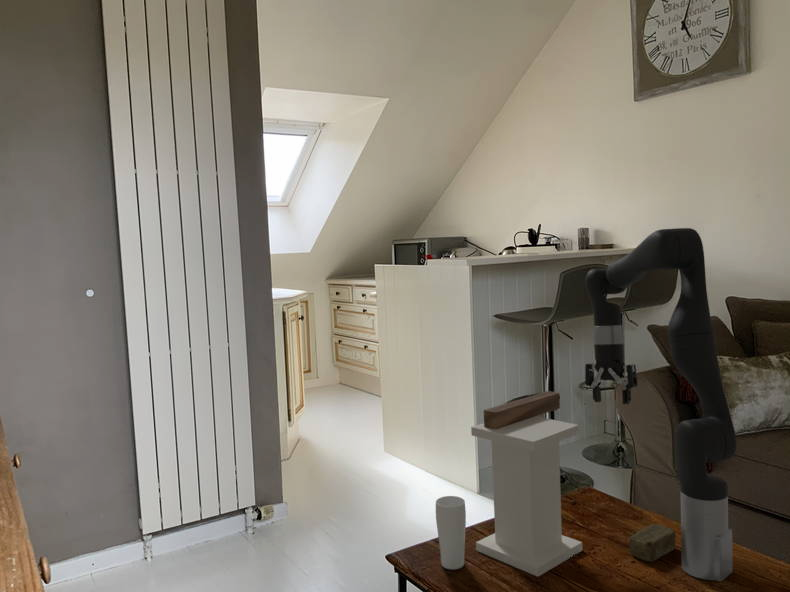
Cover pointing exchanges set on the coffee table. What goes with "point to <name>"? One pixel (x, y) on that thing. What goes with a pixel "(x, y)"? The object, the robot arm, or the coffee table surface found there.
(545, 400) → the walnut bar
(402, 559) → the coffee table surface
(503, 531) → the shelf stand
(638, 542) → the stone block
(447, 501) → the drinking glass
